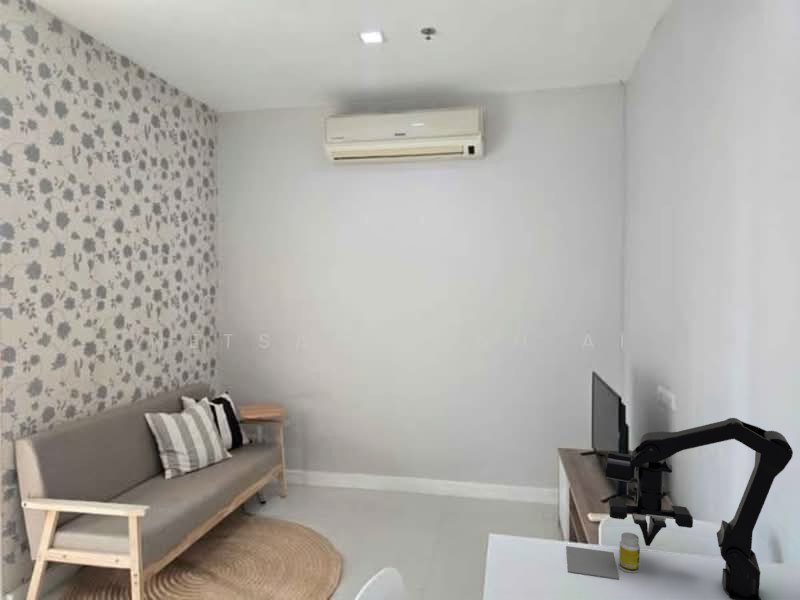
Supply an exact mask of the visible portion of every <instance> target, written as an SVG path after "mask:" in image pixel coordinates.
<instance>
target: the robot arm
mask: <svg viewBox="0 0 800 600" xmlns="http://www.w3.org/2000/svg"><path fill="white" fill-rule="evenodd" d="M732 440H734V441H735V440H736V441H737V442H738V443H741V444H743V445H744V446H745V447H748V448H750V449H751V450H752V451H754V452H755V453H754V454H755V455H754V466H753V469H752V472H751V474H750V476H749V479H748V482H747V483H746V487H745V489H744V490H743V491H744V492H743V494H742V497H741V499H740V502H739V503H738V507H737V510H736V512H735V515H734V516H733V518H732V519H731V520H730V521H729V522H727V521H725V520H721V525H720V528H719V530H718V531H716V538H717V544H718V548H719V550H720V551H719V552H720V556H721V558H722V559H723V561H725V568H722V578H721V580H722V581H721V584H722V585H721V586H722V587H723V589H724V591H725V592H726V593H727V596H728V597H729V598H730V599H733V600H734V599H735V600H762V598H761V596H760V585H761V583H760V581H761V570H760V567H759V563H758V559H757V554H756V553H755V552H754V551H753V550H752V548H753V547H752V544H753V533H754V529H755V526H756V524H757V522H758V519H759V517H760V514H761V512H762V509H763V507H764V504H765V502H766V499H767V497H768V495H769V492H770V490H771V488H772V485H773V482H774V480H775V478H776V477H777V476H778V475H779V474H780V473H782V472H783V471H784V470H785V469H786V466H788V464H789V463H790V461H791V460H792V458H793V455H794V454H793V453H794V451H793V448H792V447H791V445H790V444H789V442H788V441H787V438H786V437H785V436H784V435H783V434H782V433H780V432H779V431H777V430H776V431H775V430H765V429H763V428H761V427H760V426H759V427H758V426H756V425H754V424H751V423H747V422H744V421H742V420H740V419H739V418H736V417H728V418H726V419H725V420H721V421H716V422H712V423H708V424H704V425H699V426H696V427H695V426H694V427H691V428H687V429H682V430H679V431H653V432H652V431H651V432H646V433H644V434H643V435H641V438H640V440H639V444H638V445H637V446H636V447H635V448H634V449H633V450H632V451H631V454H627V453H622V452H621V453H620V452H616V451H614V450H613V451H612V450H609V451H608V454H607V461H606V462H607V463H606V467H605V478H606V479H611V480H616V481H622V482H626V495H627V496H632V497H633V499H634V504H636V506H635V505H627V504H626V501H625V499H619V498H609V499H608V501H607V510H608V514H609V517H610V518H611V519H615V520H616V519H617V520H625V519H626V518H628V514H629V515H631V517H632V519H633V523H634V524H635V525H638V526H639V529H640V530H641V533H642V536H643V539H644V544H645V546H646V547H650V546H651V544H652V543H653V541H654V539H655V537H656V535H657V534H659V532H660V531H661V530H662V529H664V528H667V523H666V520H667V519H670V520H674V522H675V524H676V525H677V526H678V527H680V528H688V529H691V528H693V527H694V525H693V524H694V518H693V515H692V514H691V512H690V510H689V509H688V508H687V506H680V505H670V507H669V508H670V509H663V499H664V495H663V493H664V491H663V490H664V473H669V474H671V473H673V465H672V464H670V463H669V462H668V461H667V460H668V458H670V457H672V456H674V455H676V454H677V453H679V452H682V451H685V450H689V449H695V448H699V447H704V446H708V445H712V444H716V443H722V442H727V441H732ZM636 468H637V486H636V483H633V482H631V481H632V480H633V479H636ZM646 516H647V517H649V524H648V522H647V519H646Z"/></svg>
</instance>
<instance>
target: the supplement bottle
mask: <svg viewBox="0 0 800 600" xmlns="http://www.w3.org/2000/svg"><path fill="white" fill-rule="evenodd" d="M620 539H621V540H620V541H619V547H618V548H619V550H618V551H619V555H618V556H619V558H618V566H619V569H621V570H622V571H624V572H625V573H633V574H635V573H637V572H639V571H640V553H641V552H640V551H641V546H640V544H639V543H640V538H639V536H638V535H637V534H635V533H632V532H626V531H625V532H623V533H622V534H621V538H620Z"/></svg>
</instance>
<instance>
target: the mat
mask: <svg viewBox="0 0 800 600" xmlns="http://www.w3.org/2000/svg"><path fill="white" fill-rule="evenodd" d="M565 547H566V549H565V550H567V551H566V561H567V562H566V563H567V564H568V565H567V573H569V572H570V574H577V575H584V576H590V577H591V576H592V577H597V578H605V579H609V580H610V579H611V580H617V581H618V580H619V581H620V576H619V571H618V566H617V562H616V557H615V554H614V552H613V551H606V550H601V549H600V550H599V549H592V548H583V547H575V546H569V545H566V546H565Z"/></svg>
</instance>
